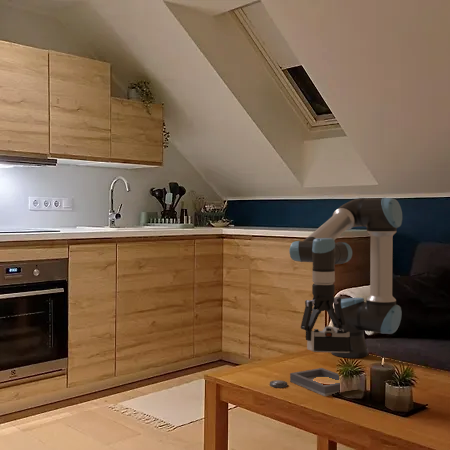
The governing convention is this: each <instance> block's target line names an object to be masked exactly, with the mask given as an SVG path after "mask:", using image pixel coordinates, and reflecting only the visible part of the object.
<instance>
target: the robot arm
mask: <svg viewBox="0 0 450 450" xmlns="http://www.w3.org/2000/svg"><path fill="white" fill-rule="evenodd" d="M402 223H403V211H402V207H401V205H400V203H399V201H398V200H397V199H396V198H392V197H359V198H355V199H352V200H349V201H348V202H346V203H344V204H342V205H340V206H339V207H338V208H337V209H336V210H334V212H333V213H332V216H330V217H329V218H328V219H327V220H326V221H325V222H324V223H323V224H322V225H320V226H319V227H318V228H316V229H315V231H313V232H312V233H311V234H310V235H308V236H307V237H306V238H305V239H304V240H302V241H301V240H297V241H293V242H291V244H290V247H289V250H288V251H289V257H290V258H291V260H292V261H294V262H299V263H312V271H311V272H312V273H311V274H312V280H311V281H312V284H311V285H312V287H311V288H312V289H311V290H312V291H311V292H312V295H313V296H312V299H311V300H308V299H305V301H304V303H305V304H304V306H305V307H304V311H303V315H302V320H301V324H300V329H301V330H304V331H305V340H306V349H307V350H309V351H311V352H313V351H314V327H315V325H316V322H317V320H318V317H319V316H320V314H321V313H322V312H325V311H326V312H327V314H328V316H329V318H330V320H331V322H332V324H333V326H331V327H332V328H333V329H334V331H337V330H342V329H343V330H344V331H345V330H346V331H349V332H350V353H331V354H332V355H333V356H334V357H335V356H336V357H339V358H350V359H351V358H352V359H359V358H364V357H367V356H369V347H368V345H367V342H366V338H365V332H371V333H379V334H382V335H384V334H386V335H387V334H389V335H393V334H394V333H396V332H397V330H398V328H399V326H400V325H401V320H402V314H403V313H402V307H401V306H400V305H398V304H397V299H396V298H395V297H394V296H393V248H394V247H393V240H394V239H393V236H394V235H395V234H396V233H397V229H398V228H400V227H401V226H402ZM357 227H366V232H367V233H368V235H369V236H370V250H369V251H370V253H369V254H370V256H369V257H370V259H369V260H370V262H369V263H370V271H369V273H370V274H369V276H370V279H369V281H370V283H369V296H367V298H366V300H365V298H364V297H345V298H340V297H334V295H335V288H336V287H335V284H334V283H335V282H336V275H335V273H336V271H335V270H336V269H335V267H336V265H342V264H345V263H348V262H350V260H352V257H353V249H352V247H351V246H350V244H349V243H347V242H342V241H338V242H336V241H335V240H336V239H337V238H339V237H340V236H341V235H342V234H343V233H344V232H345V231H349V230H351V229H353V228H357Z"/></svg>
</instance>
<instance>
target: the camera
mask: <svg viewBox="0 0 450 450" xmlns="http://www.w3.org/2000/svg"><path fill="white" fill-rule="evenodd" d="M332 327H333V326H330V325H329V326H325V327H323V329H322V330H319V328H315V329H314V328H313V331H314V351H312V353H313V352H314V353H329V354H330V353H331V354H332V353H350V332H349V331H346V330H345V331H344V330H343V329H342V330H337V331H334V329H333V328H332Z"/></svg>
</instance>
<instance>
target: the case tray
mask: <svg viewBox="0 0 450 450" xmlns="http://www.w3.org/2000/svg"><path fill="white" fill-rule="evenodd" d="M338 374H339V373H337V372H334V371H331V370H329V369H327V368H323V367H319V368H313V369H307V370H301V371H300V370H299V371H295V372H290V373H289V375H290V376H289V382H290V383H292V384H295V385H297V386H300V387H301V388H304V389H306V390H308V391H312V392H314V393H316V394H319V395H321V396H322V397H328V396H333V395H332V394H334V395H336V394H335V393H337V392H339V390H340V383H335V384H330V385H323V384H321V383H318V382H316V381H313V379H314V378H316V377H329V378H332V379H335V380H339V375H338Z"/></svg>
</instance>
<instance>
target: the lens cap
mask: <svg viewBox="0 0 450 450" xmlns="http://www.w3.org/2000/svg"><path fill="white" fill-rule="evenodd" d="M269 387H271V388H275V389H284V388H287V387H288V382H287V381H285V380H279V379H278V380H272V381H270V382H269Z"/></svg>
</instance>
